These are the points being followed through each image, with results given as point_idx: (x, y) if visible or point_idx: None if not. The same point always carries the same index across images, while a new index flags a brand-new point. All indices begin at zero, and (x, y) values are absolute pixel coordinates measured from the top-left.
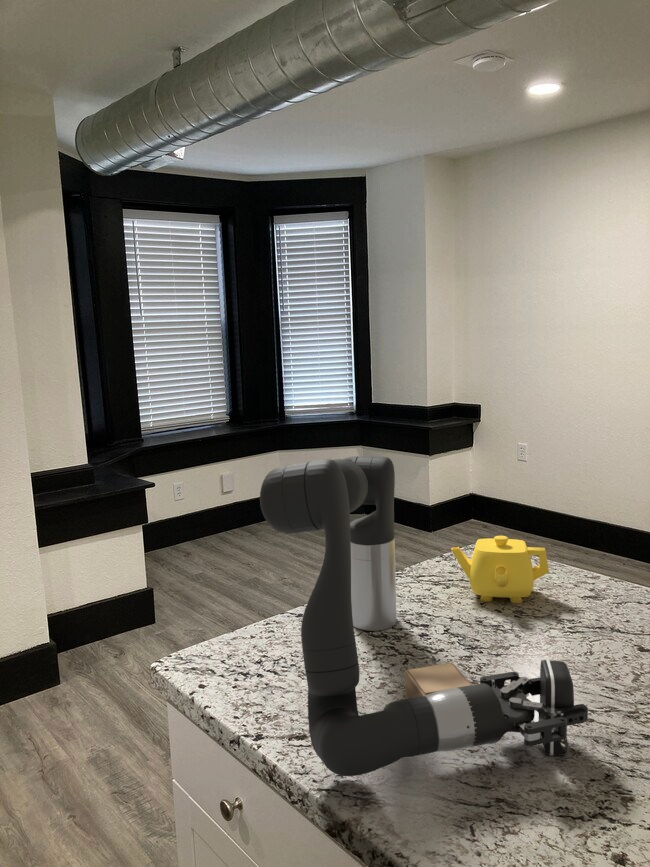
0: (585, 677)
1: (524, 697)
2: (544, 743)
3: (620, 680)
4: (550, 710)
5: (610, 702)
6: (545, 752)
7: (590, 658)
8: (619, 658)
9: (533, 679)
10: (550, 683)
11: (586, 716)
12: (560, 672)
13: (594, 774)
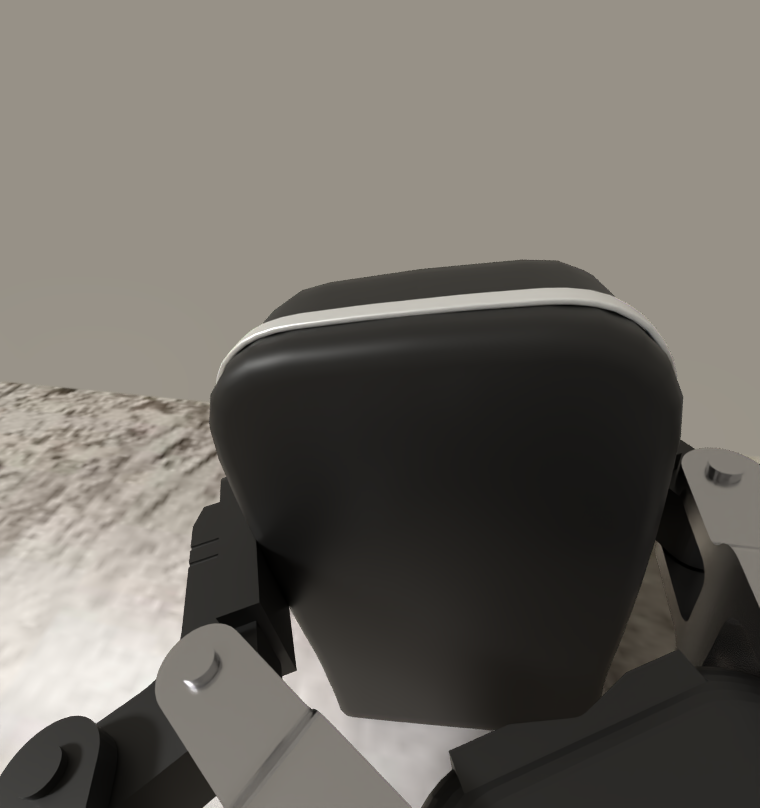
0: (87, 491)
1: (579, 747)
2: (576, 716)
3: (152, 429)
4: (754, 519)
5: None
6: None
7: (15, 469)
8: (67, 420)
9: (228, 588)
10: (665, 348)
11: None
12: (499, 272)
13: None
